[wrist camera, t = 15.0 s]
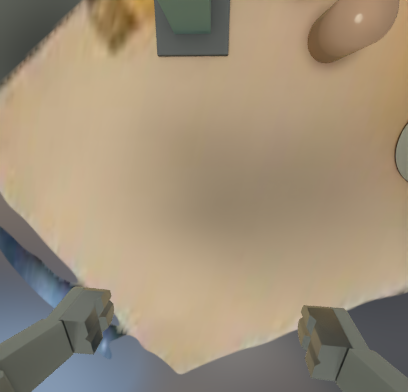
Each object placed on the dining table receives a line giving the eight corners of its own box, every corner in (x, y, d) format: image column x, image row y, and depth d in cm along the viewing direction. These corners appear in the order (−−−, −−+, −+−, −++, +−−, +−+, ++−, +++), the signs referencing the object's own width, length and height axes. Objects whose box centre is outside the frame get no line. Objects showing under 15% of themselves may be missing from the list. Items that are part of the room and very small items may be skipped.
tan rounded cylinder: (357, 11, 29) (407, -26, 22) (347, 62, 31) (389, 46, 24) (311, 11, 29) (344, -24, 22) (304, 63, 31) (332, 46, 24)
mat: (230, -35, 28) (231, -39, 27) (227, 55, 32) (228, 54, 31) (153, -33, 29) (152, -37, 28) (158, 56, 32) (157, 55, 31)
